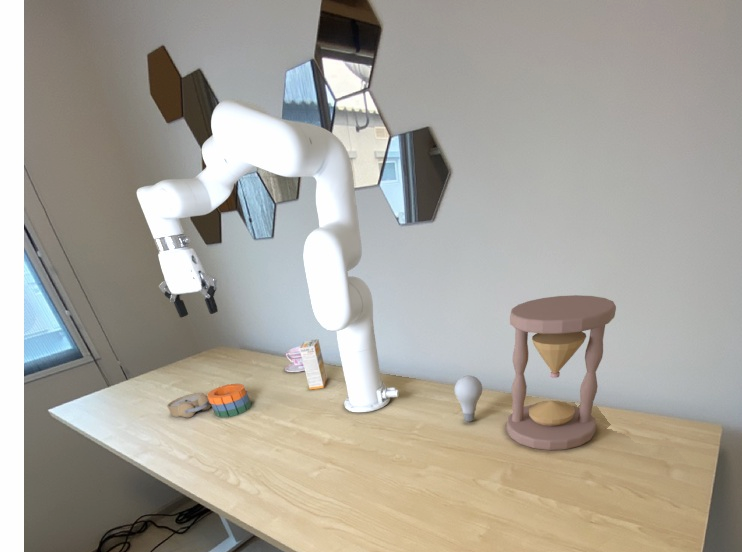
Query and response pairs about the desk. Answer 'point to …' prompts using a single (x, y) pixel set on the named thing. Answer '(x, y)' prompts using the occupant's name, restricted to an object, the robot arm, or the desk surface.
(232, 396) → the orange ring
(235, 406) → the ring stack
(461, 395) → the lightbulb
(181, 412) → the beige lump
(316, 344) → the supplement box
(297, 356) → the teacup
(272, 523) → the desk surface
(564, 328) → the hourglass
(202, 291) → the robot arm
